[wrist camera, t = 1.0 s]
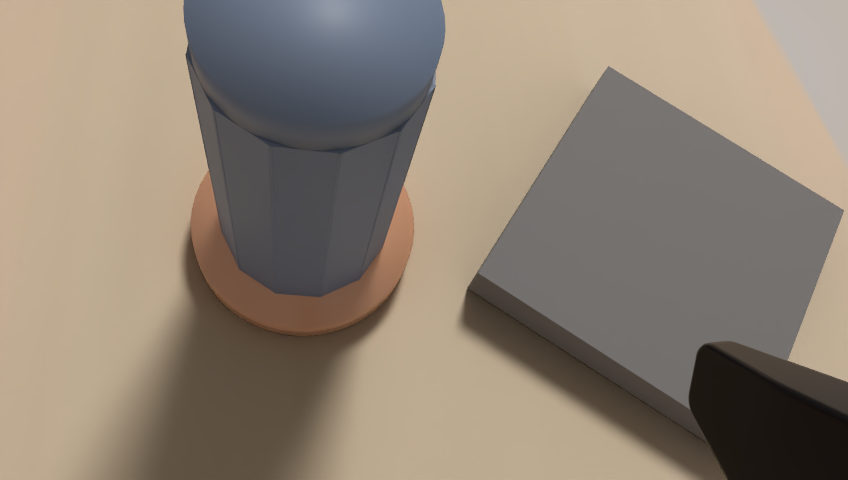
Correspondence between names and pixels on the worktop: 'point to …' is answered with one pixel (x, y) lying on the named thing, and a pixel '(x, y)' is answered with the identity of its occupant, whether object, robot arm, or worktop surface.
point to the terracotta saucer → (296, 310)
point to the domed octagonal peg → (310, 127)
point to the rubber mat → (657, 247)
